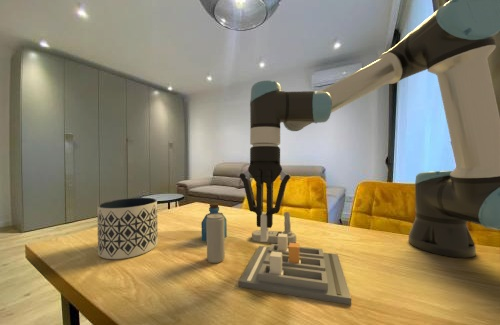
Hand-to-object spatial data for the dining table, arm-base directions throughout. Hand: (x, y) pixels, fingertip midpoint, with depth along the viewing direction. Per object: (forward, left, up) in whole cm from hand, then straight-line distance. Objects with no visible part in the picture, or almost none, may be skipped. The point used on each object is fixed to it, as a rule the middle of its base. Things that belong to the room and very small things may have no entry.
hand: (264, 239), depth 53 cm
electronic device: (+1, -18, -7) cm, 20 cm away
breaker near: (-4, +6, -6) cm, 9 cm away
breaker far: (-4, -6, -6) cm, 9 cm away
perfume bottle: (+21, -15, -7) cm, 26 cm away
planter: (+43, -1, -7) cm, 43 cm away
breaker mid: (-7, 0, -6) cm, 9 cm away
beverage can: (+14, -1, -7) cm, 15 cm away
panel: (-7, 0, -7) cm, 10 cm away
